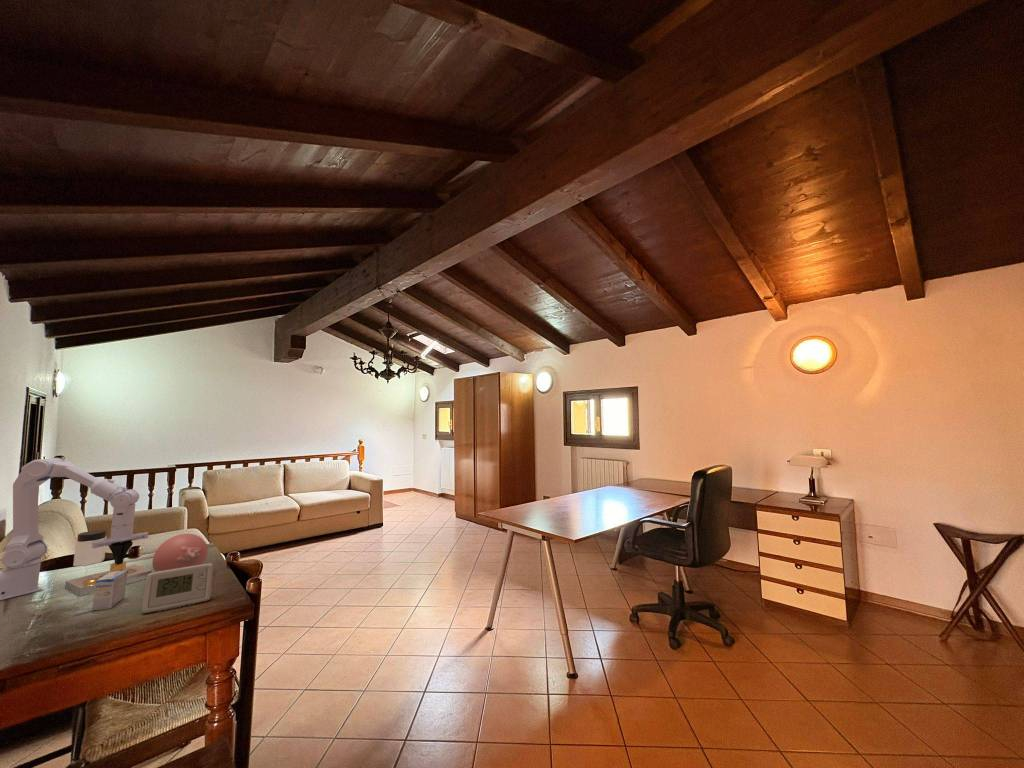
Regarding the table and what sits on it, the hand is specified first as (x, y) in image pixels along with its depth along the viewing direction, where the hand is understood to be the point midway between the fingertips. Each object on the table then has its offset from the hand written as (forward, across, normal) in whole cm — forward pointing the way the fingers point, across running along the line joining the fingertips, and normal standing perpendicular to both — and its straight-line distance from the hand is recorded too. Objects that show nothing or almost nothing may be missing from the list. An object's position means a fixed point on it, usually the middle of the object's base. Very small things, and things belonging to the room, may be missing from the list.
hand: (118, 563), depth 140 cm
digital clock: (+6, 0, -44) cm, 44 cm away
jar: (+6, +3, +38) cm, 38 cm away
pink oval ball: (+6, +11, -20) cm, 23 cm away
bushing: (+6, 0, 0) cm, 6 cm away
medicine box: (+6, -9, -24) cm, 26 cm away
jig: (+6, -2, 0) cm, 6 cm away
